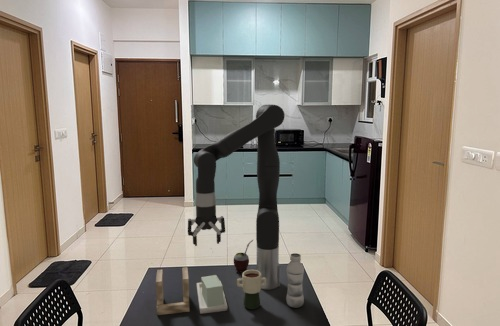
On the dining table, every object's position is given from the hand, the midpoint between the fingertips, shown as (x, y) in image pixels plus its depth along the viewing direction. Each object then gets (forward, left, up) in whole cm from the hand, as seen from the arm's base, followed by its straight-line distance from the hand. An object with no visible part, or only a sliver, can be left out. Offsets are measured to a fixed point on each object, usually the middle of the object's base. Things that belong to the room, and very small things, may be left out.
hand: (206, 244), depth 139 cm
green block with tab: (-1, +2, -21) cm, 21 cm away
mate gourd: (-18, -20, -22) cm, 35 cm away
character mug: (-16, +10, -22) cm, 29 cm away
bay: (+13, +3, -22) cm, 26 cm away
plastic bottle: (-32, +13, -22) cm, 41 cm away
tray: (-1, +1, -22) cm, 22 cm away
